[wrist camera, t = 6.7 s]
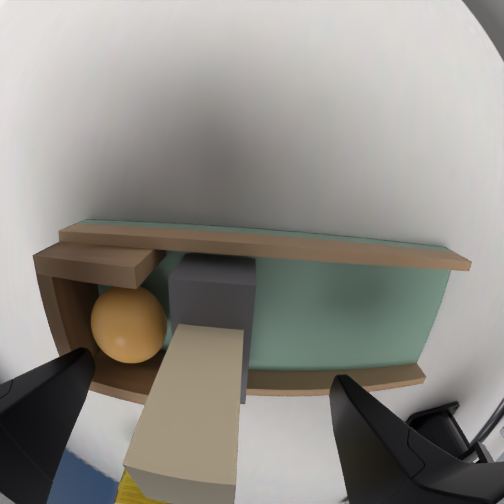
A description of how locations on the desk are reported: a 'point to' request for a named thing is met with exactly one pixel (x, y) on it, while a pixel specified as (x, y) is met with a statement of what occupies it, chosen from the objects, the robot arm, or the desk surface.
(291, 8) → the desk surface
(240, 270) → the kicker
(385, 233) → the desk surface
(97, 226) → the pitch
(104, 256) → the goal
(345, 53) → the desk surface
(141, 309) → the ball
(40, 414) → the robot arm
